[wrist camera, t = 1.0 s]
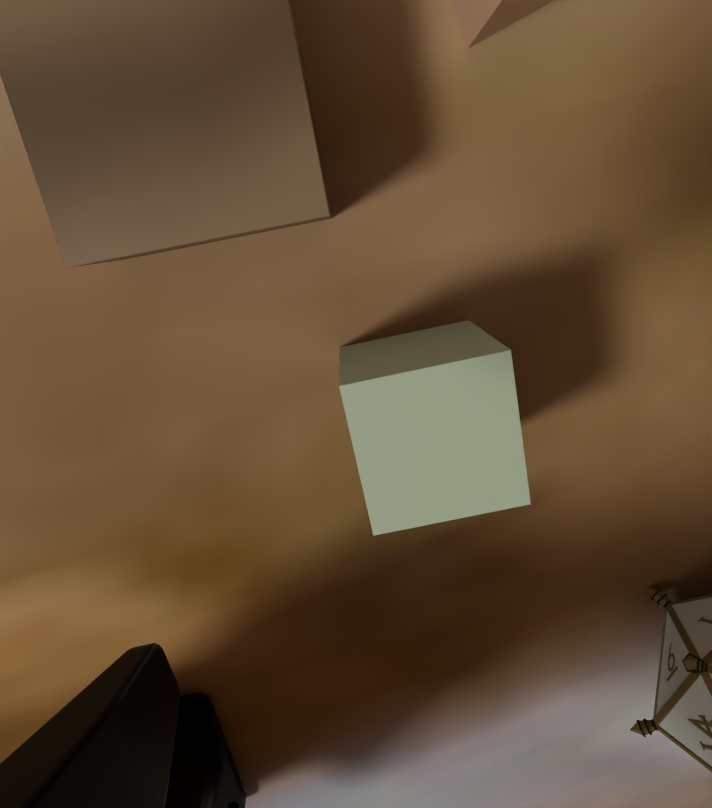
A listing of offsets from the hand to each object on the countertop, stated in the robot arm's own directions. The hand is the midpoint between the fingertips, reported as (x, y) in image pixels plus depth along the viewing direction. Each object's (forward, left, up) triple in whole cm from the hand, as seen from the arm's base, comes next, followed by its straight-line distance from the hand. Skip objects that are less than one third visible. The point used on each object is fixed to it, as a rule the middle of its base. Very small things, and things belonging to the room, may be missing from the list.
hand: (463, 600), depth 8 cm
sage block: (-1, -1, -12) cm, 12 cm away
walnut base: (+9, +4, -12) cm, 16 cm away
